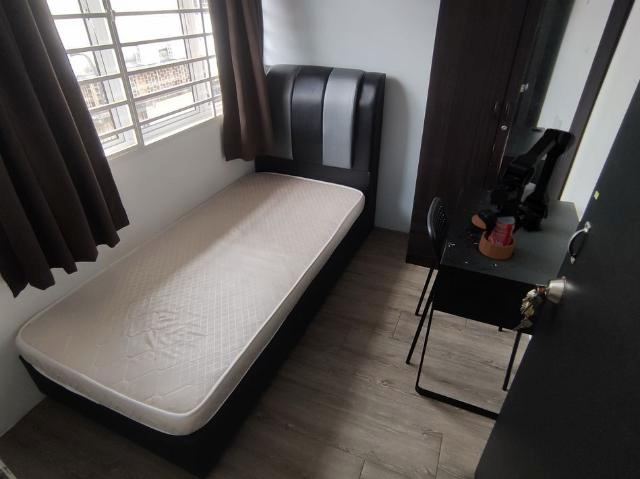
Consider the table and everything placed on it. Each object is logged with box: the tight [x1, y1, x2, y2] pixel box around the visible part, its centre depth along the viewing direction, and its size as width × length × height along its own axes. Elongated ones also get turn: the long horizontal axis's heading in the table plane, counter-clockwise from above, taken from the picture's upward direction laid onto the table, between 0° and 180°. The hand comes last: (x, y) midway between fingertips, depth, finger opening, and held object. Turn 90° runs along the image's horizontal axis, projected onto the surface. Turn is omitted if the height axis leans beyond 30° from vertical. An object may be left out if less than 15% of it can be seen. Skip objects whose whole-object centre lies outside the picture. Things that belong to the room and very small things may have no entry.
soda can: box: [488, 216, 515, 246], centre depth 138 cm, size 7×7×13 cm
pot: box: [478, 230, 517, 261], centre depth 140 cm, size 11×11×6 cm
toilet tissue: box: [519, 182, 536, 206], centre depth 169 cm, size 11×12×10 cm
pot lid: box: [471, 214, 486, 230], centre depth 156 cm, size 12×12×5 cm
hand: (499, 235), depth 138 cm, fingers open, 9 cm apart
